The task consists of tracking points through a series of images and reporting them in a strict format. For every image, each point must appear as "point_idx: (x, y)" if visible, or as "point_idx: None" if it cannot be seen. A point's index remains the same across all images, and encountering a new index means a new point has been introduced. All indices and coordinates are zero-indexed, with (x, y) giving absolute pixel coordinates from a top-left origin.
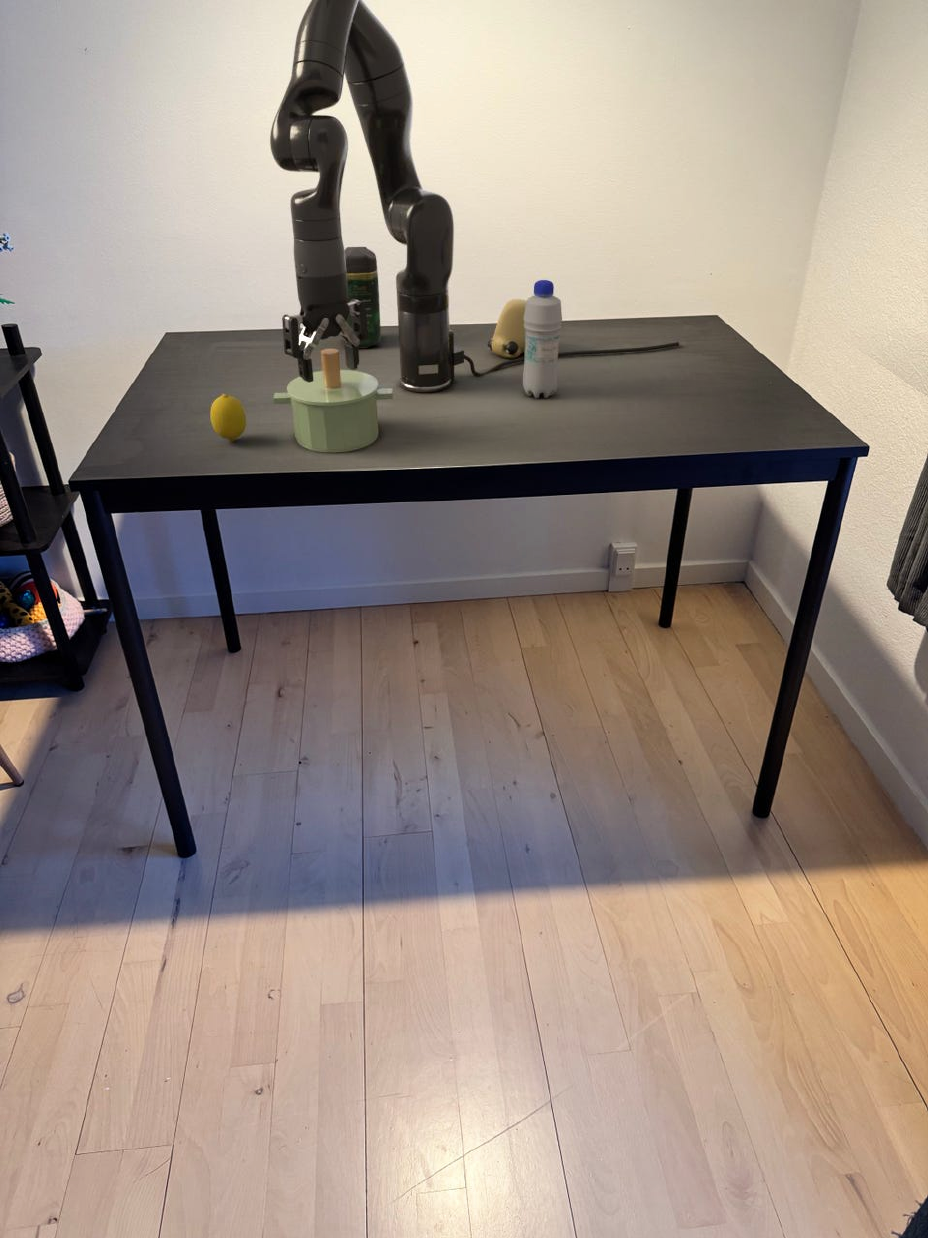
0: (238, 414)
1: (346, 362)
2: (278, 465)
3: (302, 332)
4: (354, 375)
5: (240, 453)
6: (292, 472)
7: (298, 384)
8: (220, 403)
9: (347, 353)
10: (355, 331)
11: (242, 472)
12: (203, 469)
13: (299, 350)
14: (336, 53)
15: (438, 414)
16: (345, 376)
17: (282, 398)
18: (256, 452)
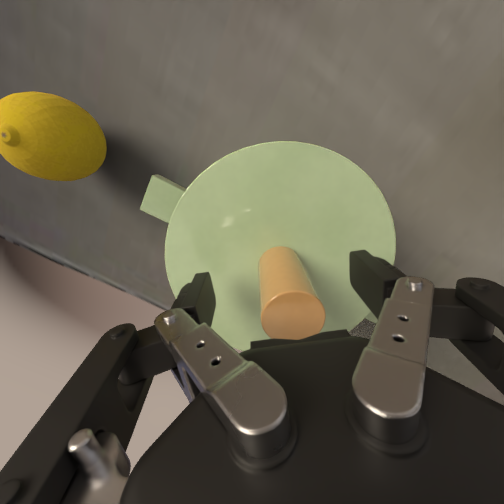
0: (68, 176)
1: (354, 257)
2: (145, 277)
3: (182, 362)
4: (362, 235)
5: (98, 204)
6: (158, 306)
7: (206, 212)
8: (4, 155)
9: (368, 280)
10: (468, 308)
11: (90, 270)
12: (31, 229)
13: (148, 388)
14: None
15: (457, 245)
16: (339, 229)
17: (160, 219)
18: (124, 216)
